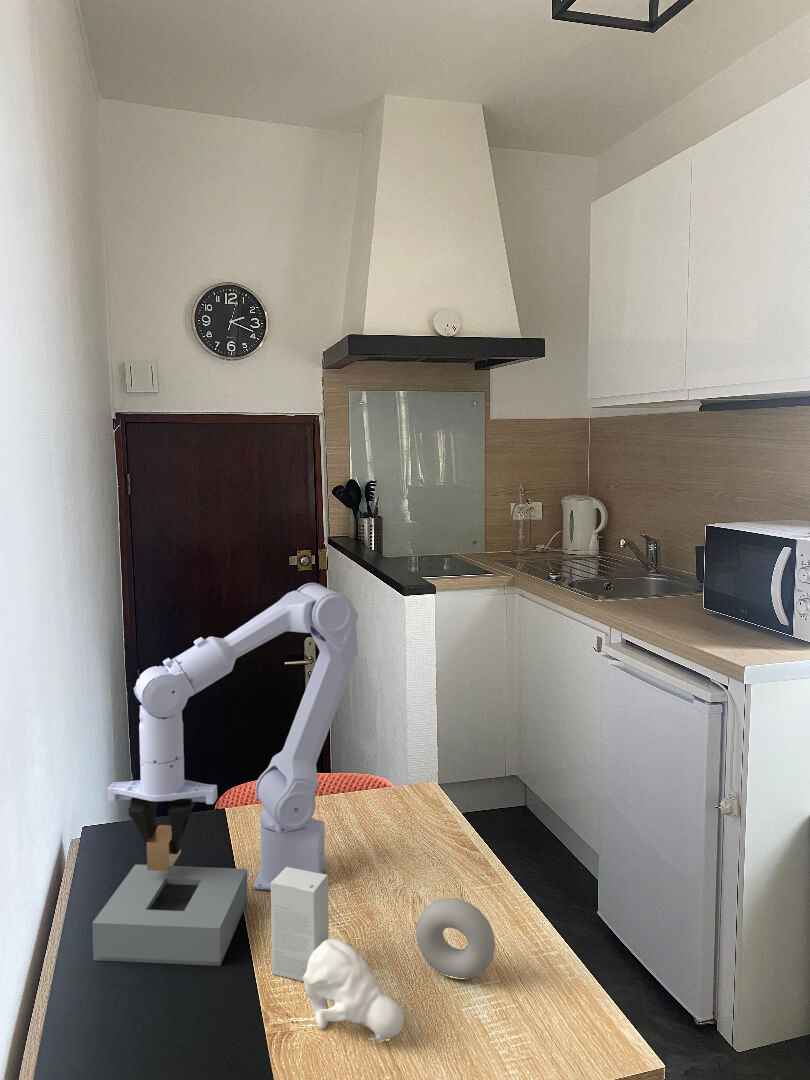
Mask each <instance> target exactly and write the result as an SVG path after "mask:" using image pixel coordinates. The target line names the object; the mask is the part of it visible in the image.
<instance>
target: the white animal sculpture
mask: <svg viewBox="0 0 810 1080" xmlns="http://www.w3.org/2000/svg"><path fill="white" fill-rule="evenodd" d="M303 981H304V982H303ZM303 981H302V982H303V984H304V989H305V993H306V996H307V997H308V998H309V999H310V1004H311V1009H312V1010H313V1014H314V1017H315V1020H316V1026H317V1027H319V1028H320V1030H321V1029H322V1030H324V1029H326V1027H327V1025H328V1023H329V1022H344V1021H345V1022H346V1021H349V1022H350V1023H352V1024H361V1025H362V1026H364V1027H367V1028H369V1029H370V1030H371V1031H372V1032H373V1033H374V1035H375V1036H374V1037H371V1036H370V1038H368V1040H369V1041H373V1042H377V1041H381V1040H385V1039H391V1038H392V1039H393V1038H394V1037H396V1036H398V1035H399V1034H400V1033H401V1031H402V1029H403V1026H404V1019H405V1018H404V1017H405V1016H404V1015H405V1014H404V1012H403V1011H404V1010H403V1009H402V1007H401V1005H400V1004H398V1002H397V1001H395V1000H394V999H392V998H391V996H388V995H387V994H383V991H382V988H381V984H380V982H379V980H378V979H377V978H376V976H374V974H373V973H372V970H371V968H370V966H369V965H368V964H367V962H366V961H365V960H364V958H363V957H362V956H361V955H360V954H359V952H357V950H356V949H355V947H353V946H351V945H350V944H348V943H347V942H345V940H341V939H337V938H333V937H331V938H329V939H328V940H325V941H324V942H323V943H322V944H321V945H320V946H318V947H317V948H316V949H315V950H314V952H313V953H312V955H311V956H310V958H309V961H308V966H307V971H306V973H305V975H304V976H303ZM328 1000H329V1001H330V1002H332V1003H333V1004H334V1005H332V1006H331V1007H329V1006H328ZM319 1028H318V1029H319ZM323 1028H324V1029H323ZM392 1039H391V1040H392ZM381 1042H382V1041H381Z"/></svg>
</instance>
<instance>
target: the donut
mask: <svg viewBox="0 0 810 1080" xmlns="http://www.w3.org/2000/svg"><path fill="white" fill-rule="evenodd" d="M447 928H448V929H450V928H451V929H455V930H456V931H459V932H460V933H461V934H462V935H463V936H464V937H465V940H466V942H467V946H466V947H465V948H456V947H454V946H452V945H451V944H450V943H448V941H447V940H446V938H445V936H444V931H445V930H446V929H447ZM415 934H416V935H415V937H416V943H417V947H418V949H419V950H420V952H421V956H422V958H423V959H424V961H426V963H427V964H428V965H429V966H430V967H431V968H432V969H433V970H435V971H436V972H437V971H438V974H440V973H442V974H445V975H448V976H453V977H458V978H465V979H466V980H468V979H467V978H471V979H474V978H477V977H478V976H480V975H482V974H483V973H485V972H486V971H487V969H489V967H490V965H491V963H492V962H493V960H494V955H495V951H496V939H495V933H494V930H493V928H492V926H491V923H490V921H489V919H488V918H487V917H486V916H485V915H484V914H483V912H482V911H481V910H480V908H478V907H476V906H474V905H473V904H472V903H471V902H469V901H466V900H463V899H461V898H457V897H456V898H455V897H444V898H443V897H442V898H440V899H435V900H433V901H432V902H431V903H429V904H428V905H427V906H425V907H424V908H423V910H422V911H421V913H420V915H419V917H418V919H417V922H416V928H415ZM442 974H441V975H442Z"/></svg>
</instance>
